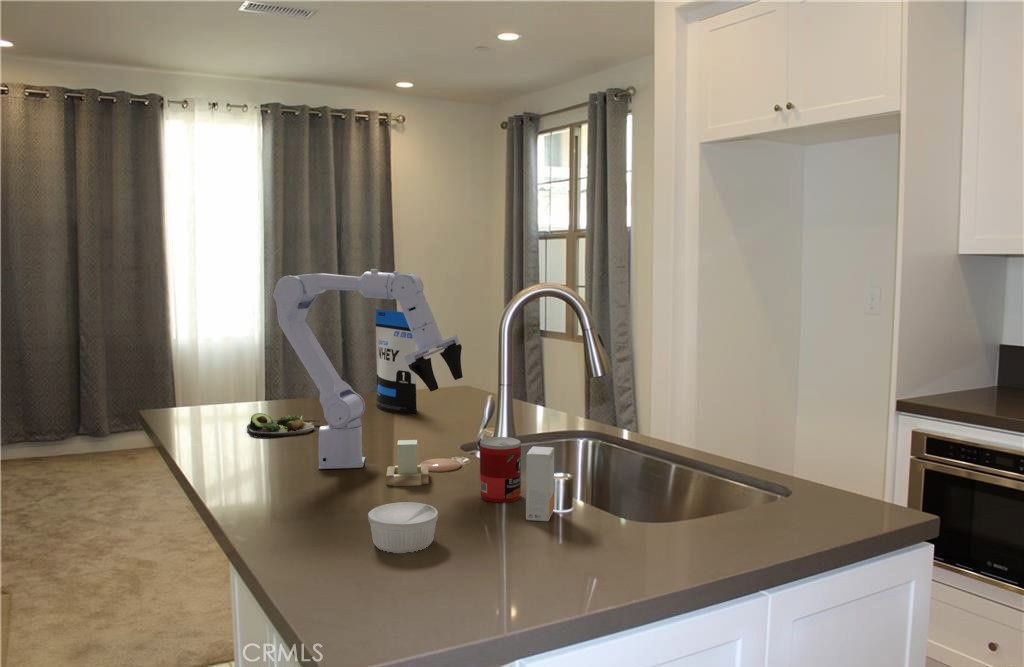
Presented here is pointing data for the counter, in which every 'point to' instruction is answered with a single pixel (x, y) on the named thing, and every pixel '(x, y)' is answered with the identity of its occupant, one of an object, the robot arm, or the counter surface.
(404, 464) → the sage peg
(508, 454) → the canned food
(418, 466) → the oak holder
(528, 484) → the skincare box
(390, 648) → the counter surface
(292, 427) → the salad plate
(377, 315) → the protein powder
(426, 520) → the ramekin
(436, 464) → the terracotta coaster
